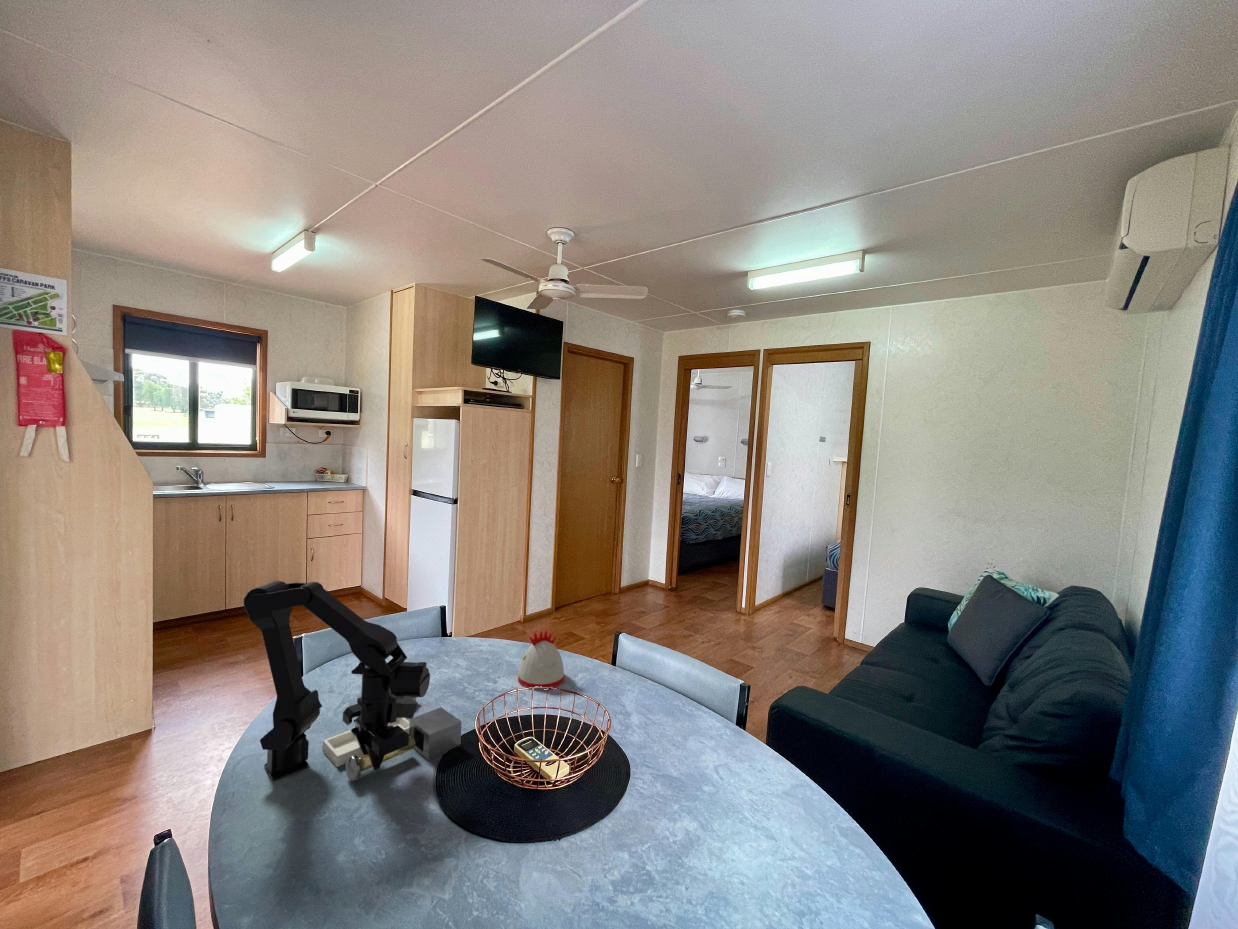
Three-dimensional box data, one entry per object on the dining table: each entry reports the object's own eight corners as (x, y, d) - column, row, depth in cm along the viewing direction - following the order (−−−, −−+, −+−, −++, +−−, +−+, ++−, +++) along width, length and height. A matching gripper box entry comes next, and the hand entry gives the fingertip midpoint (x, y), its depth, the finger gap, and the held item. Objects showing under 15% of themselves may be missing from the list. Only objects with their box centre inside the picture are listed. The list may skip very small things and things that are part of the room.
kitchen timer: (513, 672, 157) (515, 624, 157) (555, 666, 163) (558, 620, 162) (524, 693, 144) (527, 641, 144) (570, 685, 150) (572, 636, 150)
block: (428, 761, 111) (429, 735, 111) (408, 743, 117) (409, 719, 117) (460, 746, 118) (461, 721, 117) (440, 730, 123) (441, 707, 123)
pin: (354, 785, 102) (354, 762, 102) (345, 775, 105) (345, 753, 105) (417, 757, 112) (417, 736, 112) (406, 748, 115) (407, 728, 115)
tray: (337, 767, 108) (337, 756, 108) (322, 750, 113) (323, 740, 113) (414, 735, 121) (414, 725, 121) (398, 721, 126) (398, 712, 126)
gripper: (434, 696, 106) (431, 768, 107) (393, 667, 118) (390, 732, 119) (381, 715, 98) (378, 794, 98) (343, 682, 110) (340, 752, 111)
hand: (373, 765), depth 107 cm, fingers closed on pin, 3 cm apart
